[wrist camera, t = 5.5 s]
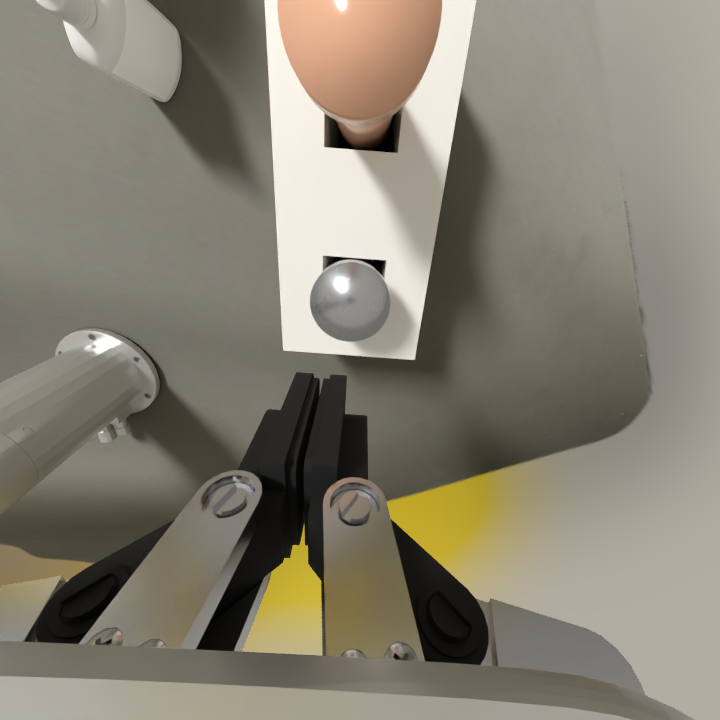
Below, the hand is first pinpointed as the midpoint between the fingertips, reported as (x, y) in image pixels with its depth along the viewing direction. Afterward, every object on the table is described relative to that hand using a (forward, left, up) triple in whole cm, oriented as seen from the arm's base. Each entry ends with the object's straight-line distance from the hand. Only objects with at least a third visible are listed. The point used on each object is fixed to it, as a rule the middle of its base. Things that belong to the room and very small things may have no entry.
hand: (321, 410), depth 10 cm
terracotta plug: (+12, 0, -20) cm, 24 cm away
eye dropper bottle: (+16, +18, -26) cm, 36 cm away
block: (+6, 0, -26) cm, 27 cm away
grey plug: (0, 0, -26) cm, 26 cm away
